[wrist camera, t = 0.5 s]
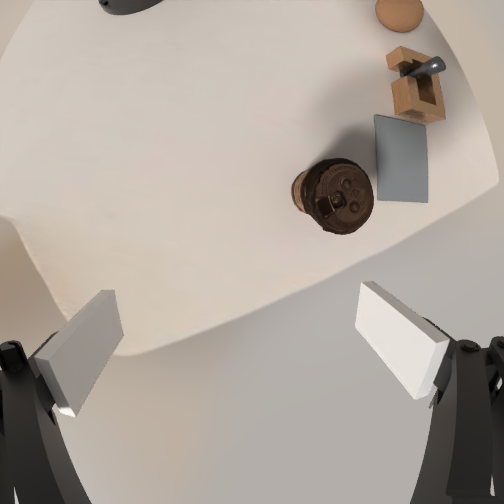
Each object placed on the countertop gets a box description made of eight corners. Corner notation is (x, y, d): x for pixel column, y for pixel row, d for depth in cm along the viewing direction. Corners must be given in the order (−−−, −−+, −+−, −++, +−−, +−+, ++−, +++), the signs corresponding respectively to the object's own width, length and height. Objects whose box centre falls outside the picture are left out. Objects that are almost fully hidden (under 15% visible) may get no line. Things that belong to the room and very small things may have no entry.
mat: (373, 115, 36) (375, 115, 36) (423, 126, 37) (425, 126, 37) (377, 200, 40) (378, 200, 39) (425, 202, 40) (427, 202, 40)
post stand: (399, 70, 34) (431, 52, 25) (411, 74, 35) (444, 58, 25) (401, 84, 35) (435, 68, 25) (414, 88, 35) (448, 74, 26)
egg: (365, 25, 32) (394, -3, 21) (368, 1, 30) (394, -27, 19) (402, 46, 33) (436, 24, 22) (403, 20, 31) (433, -2, 20)
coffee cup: (274, 211, 39) (296, 224, 26) (289, 156, 37) (317, 143, 25) (329, 226, 40) (369, 245, 28) (343, 174, 38) (388, 172, 26)
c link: (386, 55, 34) (400, 45, 29) (419, 66, 34) (434, 59, 29) (395, 114, 36) (411, 108, 32) (428, 122, 37) (445, 119, 32)
